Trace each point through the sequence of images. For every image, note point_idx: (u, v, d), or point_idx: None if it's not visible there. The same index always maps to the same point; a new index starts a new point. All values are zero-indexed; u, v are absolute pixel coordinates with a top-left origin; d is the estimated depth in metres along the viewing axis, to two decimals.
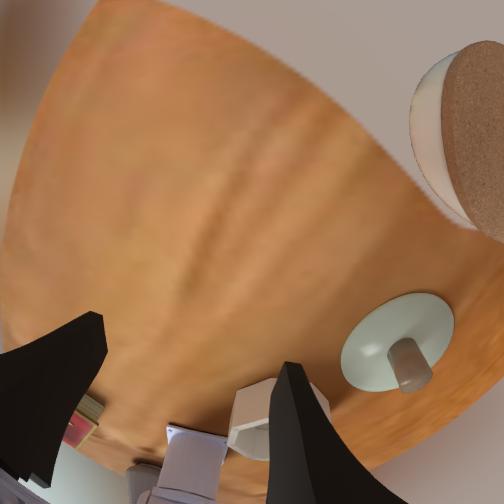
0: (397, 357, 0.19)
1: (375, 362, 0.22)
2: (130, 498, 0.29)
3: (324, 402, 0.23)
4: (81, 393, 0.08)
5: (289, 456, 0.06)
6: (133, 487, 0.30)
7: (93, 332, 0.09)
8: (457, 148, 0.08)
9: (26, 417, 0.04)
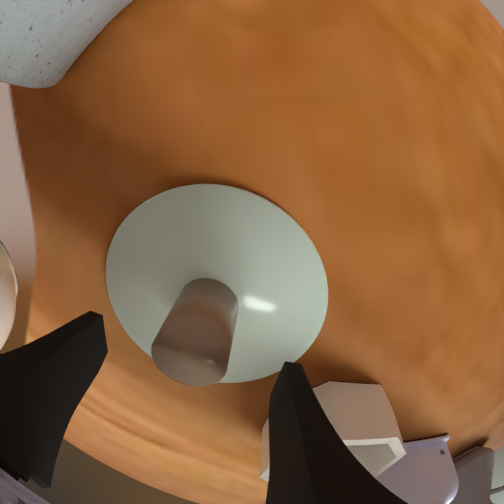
0: None
1: (233, 343, 0.14)
2: None
3: None
4: (81, 393, 0.08)
5: (289, 456, 0.06)
6: None
7: (93, 332, 0.09)
8: None
9: (26, 417, 0.04)
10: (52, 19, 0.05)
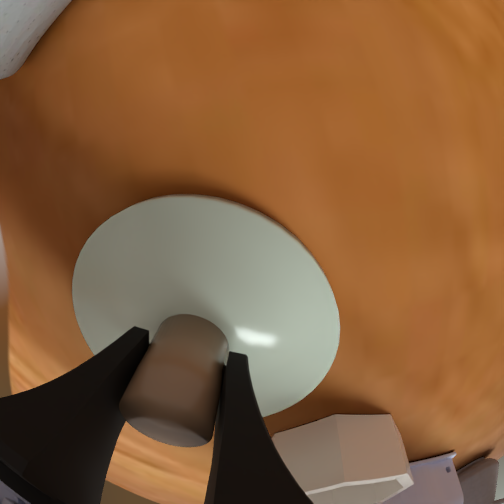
0: None
1: None
2: None
3: (315, 434, 0.12)
4: None
5: (217, 447, 0.06)
6: None
7: (141, 349, 0.09)
8: None
9: (82, 450, 0.05)
10: None
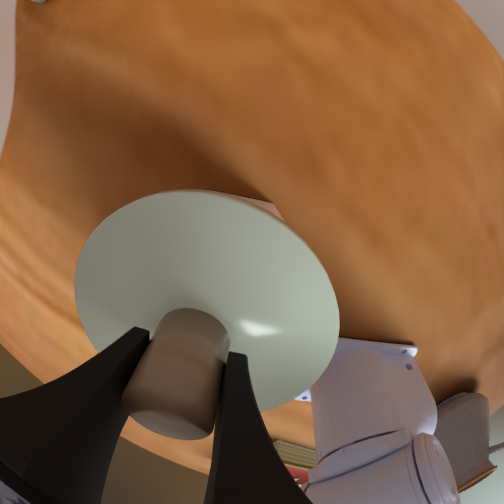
0: None
1: None
2: None
3: None
4: None
5: (217, 447, 0.06)
6: None
7: (141, 349, 0.09)
8: None
9: (83, 450, 0.05)
10: None
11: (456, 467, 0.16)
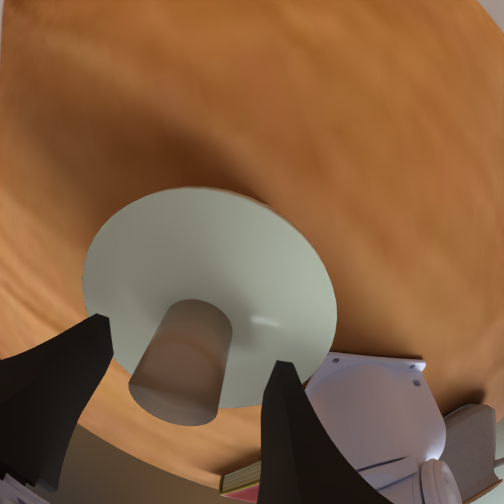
0: None
1: (231, 368, 0.12)
2: None
3: None
4: (88, 396, 0.08)
5: (279, 455, 0.06)
6: None
7: (100, 335, 0.09)
8: None
9: (33, 422, 0.04)
10: None
11: (461, 481, 0.14)
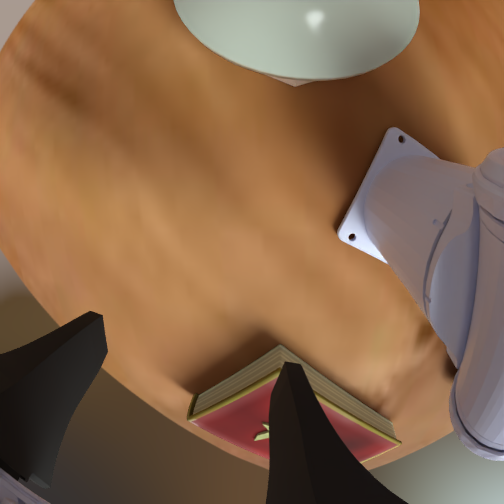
0: None
1: (323, 13, 0.08)
2: None
3: None
4: (81, 393, 0.08)
5: (289, 456, 0.06)
6: None
7: (93, 332, 0.09)
8: None
9: (26, 417, 0.04)
10: None
11: None
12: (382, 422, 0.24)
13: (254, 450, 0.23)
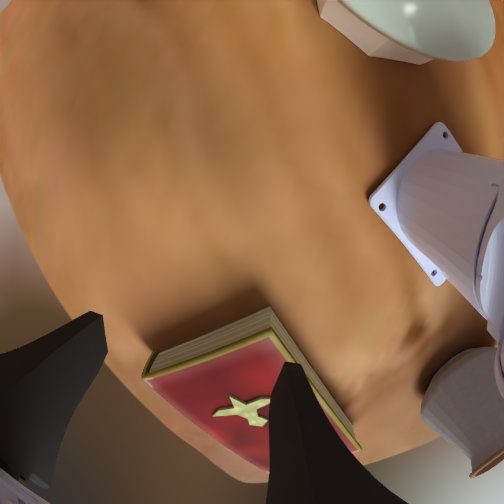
0: None
1: (427, 4, 0.07)
2: (457, 442, 0.15)
3: None
4: (81, 393, 0.08)
5: (289, 456, 0.06)
6: (448, 421, 0.17)
7: (93, 332, 0.09)
8: None
9: (26, 417, 0.04)
10: None
11: (488, 428, 0.13)
12: (346, 422, 0.24)
13: (207, 429, 0.21)
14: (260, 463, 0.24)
